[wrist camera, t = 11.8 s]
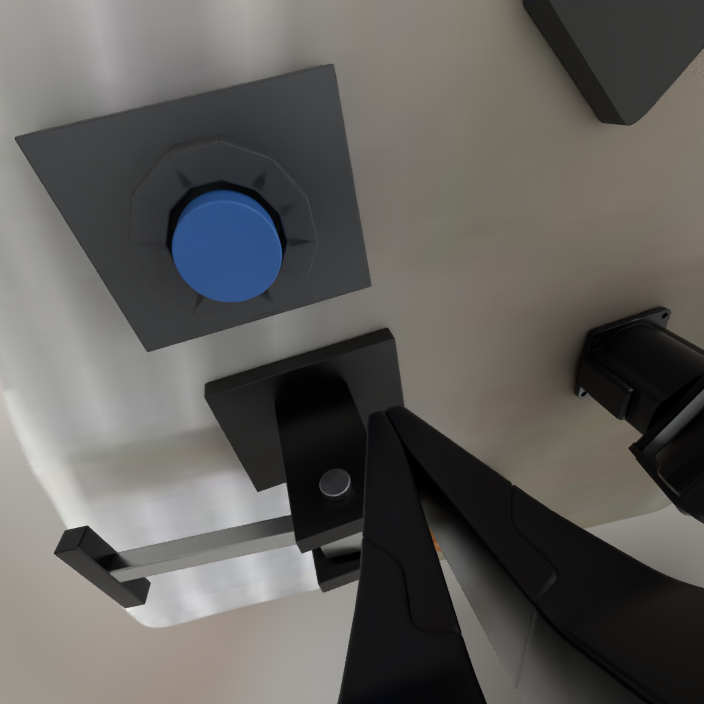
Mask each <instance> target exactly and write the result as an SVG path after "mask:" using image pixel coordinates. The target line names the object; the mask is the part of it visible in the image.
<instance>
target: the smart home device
mask: <svg viewBox="0 0 704 704" xmlns="http://www.w3.org/2000/svg"><path fill="white" fill-rule="evenodd" d="M524 5H525V8H526V9H527V11H528V12H529V14H530V15H531V17H532V18H533V20H534V21H535V23H536V24H537V26H538V27H539V29H540V30H541V32H542V33H543V35H544V36H545V38H546V39H547V41H548V42H549V44H550V45H551V47H552V48H553V50H554V51H555V53H556V54H557V56H558V57H559V59H560V60H561V62H562V63H563V65H564V66H565V68H566V69H567V71H568V72H569V74H570V75H571V77H572V78H573V80H574V81H575V83H576V84H577V86H578V87H579V89H580V91H581V92H582V94H583V95H584V97H585V98H586V100H587V101H588V103H589V104H590V106H591V107H592V109H593V110H594V112H595V113H596V115H597V116H598V118H599V119H600V121H601V122H602V123H609V124H619V125H628V126H629V125H632V124H634V123H636V122H637V121H638V120H640V119H641V118H642V117H643V116H644V115H645V114H646V113H647V112H648V111H649V110H650V109H651V108H652V107H653V106H654V104H655V103H656V102H657V101H658V100H659V99H660V98H661V96H662V95H663V94H664V93H665V92H666V91H667V90H668V88H669V87H670V86H671V85H672V84H673V83H674V82H675V80H676V79H677V78H678V77H679V76H680V75H681V74H682V72H683V71H684V70H685V69H686V68H687V67H688V65H689V64H690V63H691V62H692V61H693V60H694V59H695V57H696V56H697V55H698V54H699V53H700V52H701V51H702V49H703V48H704V0H524Z"/></svg>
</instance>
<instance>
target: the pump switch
mask: <svg viewBox="0 0 704 704" xmlns="http://www.w3.org/2000/svg"><path fill="white" fill-rule="evenodd" d="M15 140H16V142H17V144H18V145H19V147H20V148H21V150H22V152H23V153H24V155H25V156H26V158H27V160H28V161H29V163H30V164H31V166H32V168H33V169H34V171H35V172H36V174H37V176H38V177H39V179H40V181H41V182H42V184H43V185H44V187H45V189H46V190H47V192H48V193H49V195H50V197H51V198H52V200H53V201H54V203H55V205H56V206H57V208H58V209H59V211H60V213H61V214H62V216H63V218H64V219H65V221H66V222H67V224H68V226H69V227H70V229H71V230H72V232H73V234H74V235H75V237H76V238H77V240H78V242H79V243H80V245H81V246H82V248H83V250H84V251H85V253H86V254H87V256H88V258H89V259H90V261H91V263H92V264H93V266H94V267H95V269H96V271H97V272H98V274H99V275H100V277H101V279H102V280H103V282H104V283H105V285H106V287H107V288H108V290H109V291H110V293H111V295H112V296H113V298H114V299H115V301H116V303H117V304H118V306H119V308H120V309H121V311H122V312H123V314H124V316H125V317H126V319H127V320H128V322H129V324H130V325H131V327H132V328H133V330H134V332H135V333H136V335H137V336H138V338H139V340H140V341H141V343H142V344H143V346H144V348H145V349H146V351H147V352H150V351H154V350H157V349H160V348H164V347H167V346H170V345H174V344H177V343H181V342H184V341H187V340H191V339H194V338H198V337H201V336H204V335H208V334H211V333H215V332H218V331H221V330H225V329H228V328H231V327H235V326H238V325H242V324H245V323H248V322H252V321H255V320H259V319H262V318H265V317H269V316H272V315H276V314H279V313H282V312H286V311H289V310H292V309H296V308H299V307H303V306H306V305H309V304H313V303H316V302H320V301H323V300H326V299H330V298H333V297H337V296H340V295H343V294H347V293H350V292H353V291H357V290H360V289H364V288H367V287H370V286H371V280H370V274H369V268H368V262H367V256H366V250H365V245H364V239H363V233H362V227H361V221H360V215H359V209H358V203H357V198H356V192H355V186H354V180H353V174H352V168H351V162H350V156H349V150H348V145H347V139H346V133H345V127H344V121H343V115H342V109H341V103H340V97H339V92H338V86H337V80H336V74H335V68H334V64H327V65H321V66H317V67H313V68H308V69H304V70H300V71H295V72H291V73H287V74H282V75H278V76H274V77H269V78H265V79H261V80H256V81H252V82H248V83H243V84H239V85H235V86H230V87H226V88H222V89H217V90H213V91H209V92H204V93H200V94H196V95H191V96H187V97H183V98H178V99H174V100H170V101H165V102H161V103H157V104H152V105H148V106H144V107H139V108H135V109H131V110H126V111H122V112H118V113H113V114H109V115H105V116H100V117H96V118H92V119H87V120H83V121H79V122H74V123H70V124H66V125H61V126H57V127H53V128H48V129H44V130H40V131H35V132H32V133H28V134H24V135H20V136H17V137H15ZM219 189H226V190H233V191H238V192H241V193H244V194H246V195H248V196H250V197H251V198H253V199H254V200H256V201H257V202H258V203H260V204H261V205H262V206H263V207H264V208H265V210H266V211H267V212H268V214H269V215H270V217H271V219H272V220H273V223H274V225H275V228H276V231H277V234H278V237H279V240H280V243H281V248H282V262H281V267H280V270H279V273H278V275H277V277H276V279H275V280H274V282H273V283H272V284H271V285H270V286H269V288H267V289H266V290H265V291H264V292H263V293H261V294H260V295H258V296H256V297H254V298H252V299H249V300H246V301H241V302H221V301H216V300H213V299H210V298H207V297H205V296H203V295H201V294H200V293H198V292H196V291H195V290H194V289H192V288H191V287H190V286H189V285H188V284H187V283H186V282H185V281H184V280H183V278H182V277H181V276H180V274H179V272H178V270H177V268H176V266H175V263H174V260H173V256H172V240H173V235H174V232H175V229H176V226H177V223H178V220H179V217H180V215H181V213H182V211H183V209H184V208H185V207H186V205H187V204H188V203H189V202H190V201H191V200H193V199H194V198H195V197H197V196H199V195H200V194H202V193H205V192H208V191H212V190H219Z"/></svg>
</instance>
